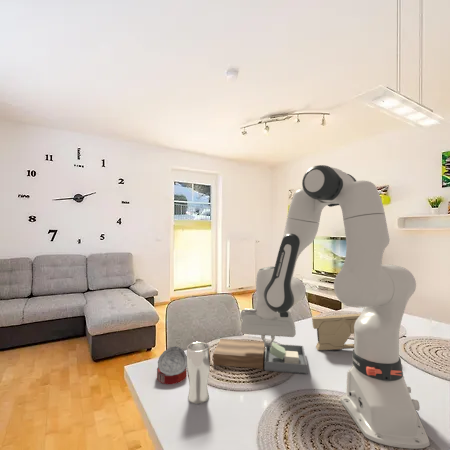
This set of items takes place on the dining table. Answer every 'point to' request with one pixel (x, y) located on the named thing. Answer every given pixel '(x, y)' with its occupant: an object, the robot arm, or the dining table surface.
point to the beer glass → (198, 371)
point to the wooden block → (239, 353)
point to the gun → (334, 331)
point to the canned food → (172, 366)
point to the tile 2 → (291, 357)
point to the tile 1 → (277, 351)
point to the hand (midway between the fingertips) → (268, 346)
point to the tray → (279, 365)
